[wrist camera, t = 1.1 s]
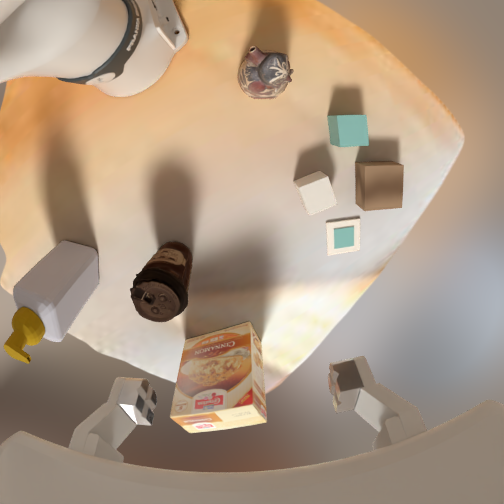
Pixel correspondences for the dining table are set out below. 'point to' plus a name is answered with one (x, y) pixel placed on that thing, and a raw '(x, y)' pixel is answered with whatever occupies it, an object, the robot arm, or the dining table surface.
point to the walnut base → (379, 185)
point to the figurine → (264, 73)
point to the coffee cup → (163, 283)
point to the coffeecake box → (220, 381)
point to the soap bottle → (52, 296)
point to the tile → (343, 236)
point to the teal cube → (348, 130)
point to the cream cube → (315, 192)
